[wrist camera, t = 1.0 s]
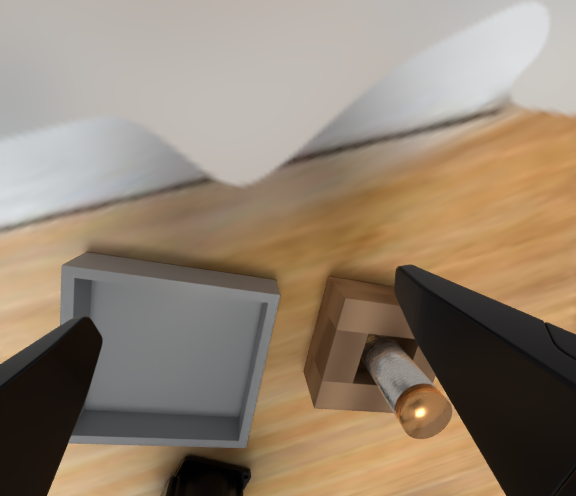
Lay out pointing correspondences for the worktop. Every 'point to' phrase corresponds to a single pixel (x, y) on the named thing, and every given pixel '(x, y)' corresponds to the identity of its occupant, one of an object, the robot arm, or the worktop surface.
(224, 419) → the tray
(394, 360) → the pin
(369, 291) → the pin block
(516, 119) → the worktop surface
